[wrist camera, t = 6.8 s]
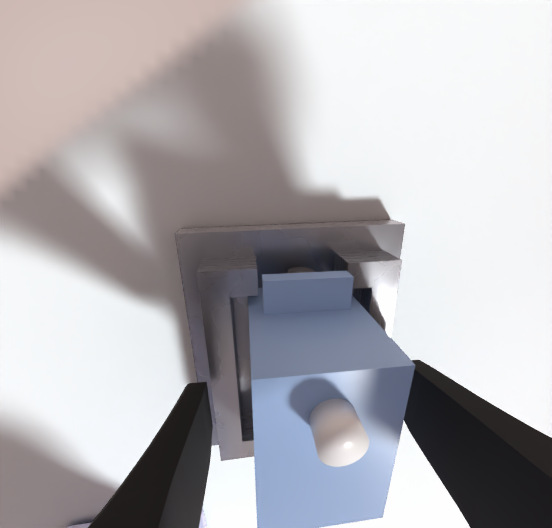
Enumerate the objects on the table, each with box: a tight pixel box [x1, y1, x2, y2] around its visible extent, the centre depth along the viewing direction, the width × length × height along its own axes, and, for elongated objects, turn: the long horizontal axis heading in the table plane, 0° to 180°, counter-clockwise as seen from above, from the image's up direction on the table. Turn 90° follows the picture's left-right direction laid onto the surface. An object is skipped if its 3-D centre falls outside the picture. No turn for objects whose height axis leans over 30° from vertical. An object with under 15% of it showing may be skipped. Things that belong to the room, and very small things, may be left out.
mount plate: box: [175, 220, 405, 461], centre depth 12 cm, size 11×9×2 cm
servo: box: [248, 267, 415, 528], centre depth 9 cm, size 8×4×6 cm, turn 0°
